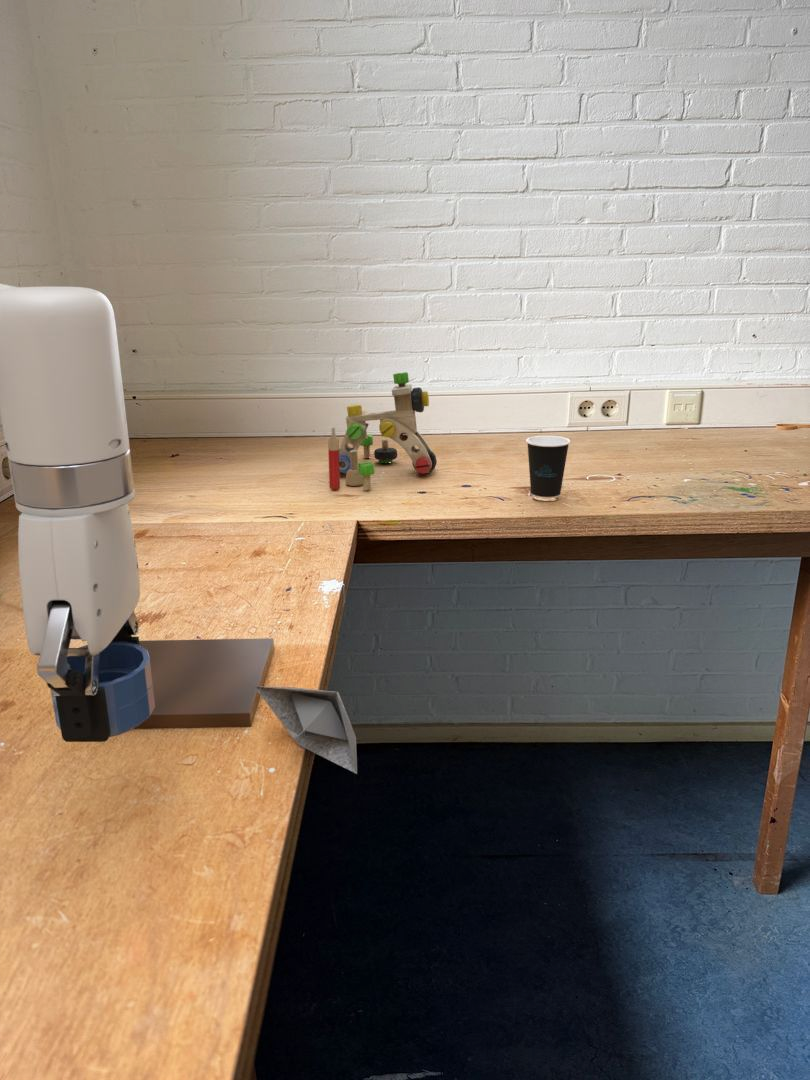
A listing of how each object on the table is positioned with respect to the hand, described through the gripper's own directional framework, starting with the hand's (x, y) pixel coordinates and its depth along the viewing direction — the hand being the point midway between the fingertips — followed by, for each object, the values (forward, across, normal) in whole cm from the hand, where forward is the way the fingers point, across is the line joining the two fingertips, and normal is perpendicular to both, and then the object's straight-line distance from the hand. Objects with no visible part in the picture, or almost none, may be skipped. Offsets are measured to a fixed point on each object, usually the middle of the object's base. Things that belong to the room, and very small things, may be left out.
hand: (105, 708), depth 59 cm
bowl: (+1, 0, 0) cm, 1 cm away
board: (+11, -23, 0) cm, 25 cm away
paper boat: (+11, -11, +14) cm, 21 cm away
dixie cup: (+11, -90, +50) cm, 103 cm away
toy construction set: (+12, -108, +18) cm, 110 cm away
